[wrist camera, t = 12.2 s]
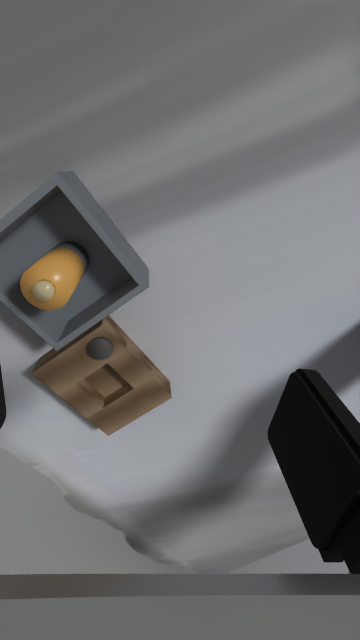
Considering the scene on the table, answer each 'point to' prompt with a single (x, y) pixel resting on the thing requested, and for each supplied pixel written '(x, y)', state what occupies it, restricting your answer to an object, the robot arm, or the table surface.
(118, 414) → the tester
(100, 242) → the bin
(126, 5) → the table surface
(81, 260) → the cylinder
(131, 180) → the table surface
